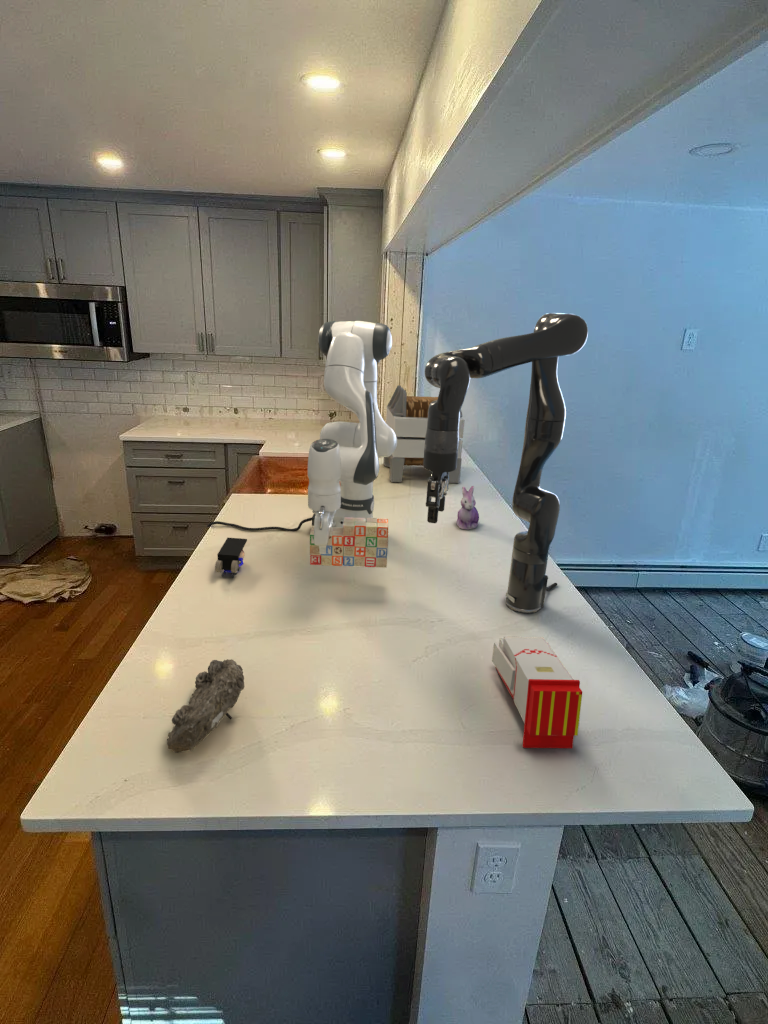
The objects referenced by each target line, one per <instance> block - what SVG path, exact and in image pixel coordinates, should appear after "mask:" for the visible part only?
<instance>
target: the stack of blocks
mask: <svg viewBox="0 0 768 1024" xmlns="http://www.w3.org/2000/svg"><path fill="white" fill-rule="evenodd" d="M388 549H389V519H388V518H377V517H373V518H351V517H344V525H343V527H331V531H330V536H329V541H328V545H327V546H326V554H320V553H319V546H316V545H315V544H314V526H312V525H311V529H310V532H309V565H311V566H330V567H331V566H332V567H335V566H336V567H363V568H364V567H365V568H384V569H385V568H386V569H387V567H388V564H387V563H388Z"/></svg>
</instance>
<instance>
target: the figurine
mask: <svg viewBox="0 0 768 1024" xmlns="http://www.w3.org/2000/svg"><path fill="white" fill-rule="evenodd" d="M474 490H475V486H474V485H471V487H469V490H467V488H466V487H465V486H462V487H461V491H462V497H461V500H460V505H461V508H460V509H458V510H457V515H456V516H457V519H456V526H458V528H459V529H461V530H473V529H475V528H477V527H478V525H479V521H480V514H479V511H478V509H477V507H476V504H477V502H476V499H475V496H474V492H475V491H474Z"/></svg>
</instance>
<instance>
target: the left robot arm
mask: <svg viewBox="0 0 768 1024" xmlns="http://www.w3.org/2000/svg"><path fill="white" fill-rule="evenodd" d="M317 342H318V347H319V350H320V352H321V354H323V355H324V356H325V357H326V359H325V365H324V373H323V387H324V391H325V392H326V394H327V396H329V398H330V399H332V400H333V401H334V402H335V403H337V404H339V405H341V406H343V407H345V408H346V409H347V410H348V411H349V412H351V413H353V414H354V415H355V416H356V417H357V419H358V422H352V421H341V420H339V421H331V422H327V423H325V424H324V425H323V427H321V430H320V432H319V438H318V439H316V440H314V441H312V442H311V443H310V446H309V450H308V458H307V477H308V486H307V508H308V509H310V510H311V511H312V517H308V518H305V519H302V520H301V521H300V522H299V523H298V526H297V527H295V528H287V527H282V526H263V527H246V526H242V525H239V524H236V523H230V522H224V521H219V520H215V521H211V522H210V523H208V524H207V525H206V528H209V527H212V526H213V525H221V526H227V527H233V528H236V529H239V530H243V531H251V532H259V531H260V532H261V531H269V530H272V531H273V530H278V531H283V532H297V531H300V530H301V528H302V526H303V525H304V524H305V523H307V522H311V527H312V526H314V544H315V545H316V546H319V553H320V554H326V546H327V545H328V541H329V536H330V531H331V527H343V525H344V517H351V518H374V513H373V512H374V509H375V496H374V481H375V480H376V479H377V478H378V476H379V471H380V460H379V458H384V457H389V456H390V455H391V454H392V453H393V452H394V451H395V448H396V445H397V437H396V434H395V432H394V431H393V429H392V428H391V427H389V426H388V425H387V423H386V420H384V418H383V416H382V415H381V412H380V410H379V406H378V363H379V364H380V362H381V361H383V360H384V359H386V358H387V357H388V356H389V354H390V351H391V349H392V346H393V336H392V333H391V328H389V326H388V325H387V324H386V323H385V324H384V323H381V322H370V321H365V320H364V321H363V320H355V321H353V320H347V321H346V320H345V321H344V320H343V321H336V320H331V321H326V322H324V323H323V324H322V325H321V326H320V328H319V333H318V337H317Z"/></svg>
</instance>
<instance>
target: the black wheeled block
mask: <svg viewBox="0 0 768 1024" xmlns="http://www.w3.org/2000/svg"><path fill="white" fill-rule="evenodd" d="M247 542H248V538H240V537H226V539H225V541H224V543H223V544H222V546H221V547H220V549H219V551H218V552H217V560H216V562H215V564H214V572H215V573H221V577H222V578H224V577H225V576H226V574H227V573H230V574H231V573H232V574H231V578H234V577H235V575H236V573H237V572H239V571H240V567H242V566H243V565H244V564H245V562H244V558H245V551H244V547H245V546H246V544H247Z"/></svg>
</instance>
